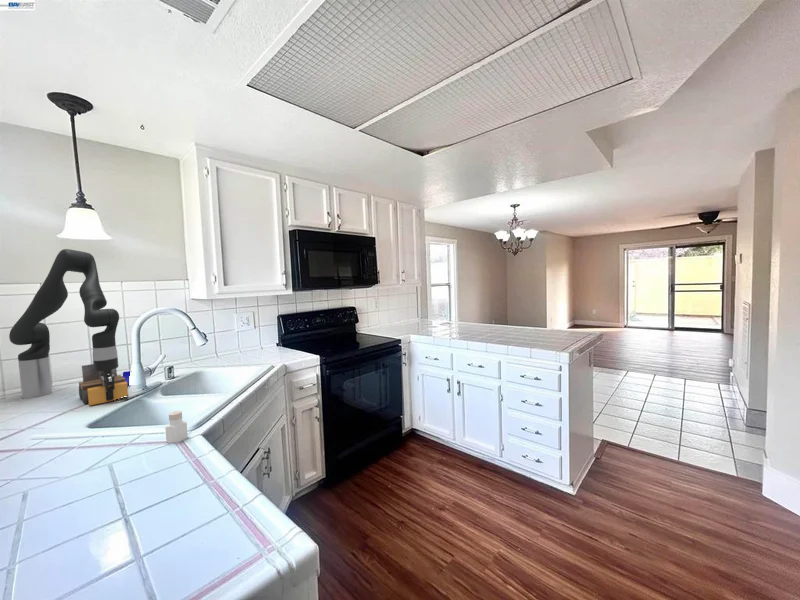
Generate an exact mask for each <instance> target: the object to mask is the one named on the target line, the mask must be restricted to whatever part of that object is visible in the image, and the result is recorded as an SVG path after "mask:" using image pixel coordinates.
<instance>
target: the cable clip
mask: <svg viewBox="0 0 800 600" xmlns="http://www.w3.org/2000/svg"><path fill="white" fill-rule="evenodd" d="M130 371H131V370H128V371H127V370H126V371H123V372H122V375H121V376H122V377H124V378H125V379H126V382H127V387H128V386H129V376H130ZM129 387H130V386H129ZM129 387H128V388H129Z"/></svg>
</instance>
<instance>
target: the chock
mask: <svg viewBox="0 0 800 600" xmlns="http://www.w3.org/2000/svg"><path fill="white" fill-rule="evenodd" d="M110 387H111V385H110V386H108V388H110ZM114 387H115V389H114V390H113V395H114V399H113V400H114V401H117V400H116V399H118V400H120V399H119V398H121V397H124V396H127V395H128V396H129V390H128V388H129V387H127V382H121V383H116V384H114ZM88 400H89V404H88V406H94V405H98V404H103V403H107V402H108V403H109V402H114V401H113V400H109V401H107V400H106V392H105V387H104V386H99V387H94V388H88Z"/></svg>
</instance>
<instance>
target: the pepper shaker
mask: <svg viewBox="0 0 800 600" xmlns="http://www.w3.org/2000/svg"><path fill="white" fill-rule="evenodd" d="M168 422H169V423H168V424H167V425H166V426H165V429H164V430H165V438H166V439H165V440H166V443H171V444H178V443H179V442H182V441H183V440H186V439H187V438H188V436H189V435H188V422H187V421H184V420H183V411H182V410H175V411H171V412H169V413H168Z"/></svg>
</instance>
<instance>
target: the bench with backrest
mask: <svg viewBox="0 0 800 600" xmlns="http://www.w3.org/2000/svg"><path fill="white" fill-rule="evenodd" d="M117 369H118V368H116V369H112V370H111V371H112V372H113V373H114V377H115V378H114V384H116V383H121V382H126V379H125V378H124V377H122V376H123V375H121V374H118V373H117V372H118V371H117ZM81 372H82V381H79V382H78V396H79V400H80V401H81V400H82V403H83V405H89V400H88V388H94V387H99V386H101V379H100V373H102V371H94V366H93V363H91V364H86V365H81Z"/></svg>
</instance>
